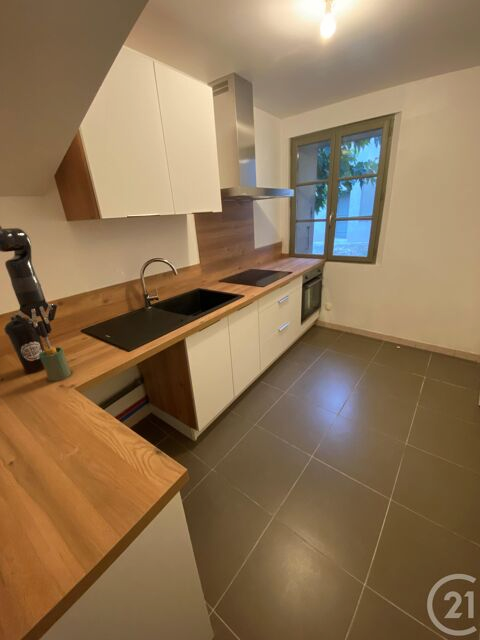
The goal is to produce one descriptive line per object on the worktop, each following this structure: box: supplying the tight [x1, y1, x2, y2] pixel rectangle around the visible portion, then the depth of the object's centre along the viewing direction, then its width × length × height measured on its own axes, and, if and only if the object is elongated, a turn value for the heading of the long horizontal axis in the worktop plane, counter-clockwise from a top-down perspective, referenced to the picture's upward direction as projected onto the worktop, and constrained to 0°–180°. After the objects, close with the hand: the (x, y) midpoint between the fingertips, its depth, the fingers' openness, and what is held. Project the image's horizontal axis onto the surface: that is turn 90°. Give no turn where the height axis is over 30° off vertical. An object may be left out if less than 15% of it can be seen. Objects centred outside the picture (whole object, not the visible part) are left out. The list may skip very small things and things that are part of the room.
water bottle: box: [3, 316, 45, 374], centre depth 107 cm, size 10×10×23 cm
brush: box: [37, 320, 57, 356], centre depth 98 cm, size 3×3×16 cm
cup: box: [39, 346, 72, 382], centre depth 102 cm, size 8×8×11 cm
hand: (44, 334), depth 97 cm, fingers closed on brush, 2 cm apart
